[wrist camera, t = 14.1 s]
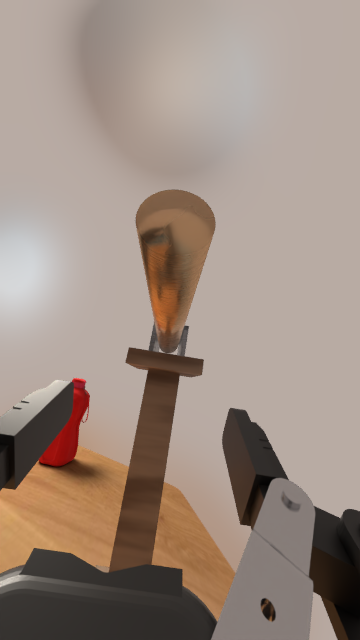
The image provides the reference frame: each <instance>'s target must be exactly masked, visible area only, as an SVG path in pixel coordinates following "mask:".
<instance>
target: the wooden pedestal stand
mask: <svg viewBox="0 0 360 640" xmlns="http://www.w3.org/2000/svg"><path fill="white" fill-rule="evenodd" d="M203 361H204V360H203V359H197V358H191V357H185V356H179V355H173V354H166V353H160V352H154V351H148V350H142V349H136V348H129V350H128V354H127V358H126V363H128V364H130V365H131V366H134V367H136V368H138V369H143V370H148V374H147V379H146V384H145V389H144V394H143V399H142V404H141V410H140V415H139V420H138V425H137V430H136V435H135V441H134V445H133V451H132V455H131V460H130V466H129V471H128V476H127V481H126V486H125V491H124V496H123V501H122V506H121V511H120V517H119V522H118V527H117V532H116V537H115V542H114V547H113V552H112V557H111V562H110V567H104V566H98V565H96V567H95V568H97V569H99V570H100V571H102V572H113V571H117V570H122V569H127V568H131V567H136V566H140V565H145V564H149V565H151V563H152V556H153V550H154V543H155V536H156V530H157V523H158V516H159V510H160V503H161V496H162V490H163V483H164V476H165V469H166V463H167V456H168V449H169V443H170V436H171V430H172V423H173V416H174V410H175V403H176V396H177V389H178V383H179V376H186V377H195V376H200V375H202V369H203Z"/></svg>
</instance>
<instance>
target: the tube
mask: <svg viewBox="0 0 360 640" xmlns="http://www.w3.org/2000/svg"><path fill="white" fill-rule="evenodd" d="M136 228H137V233H138V238H139V243H140V248H141V254H142V259H143V264H144V269H145V274H146V280H147V285H148V290H149V295H150V301H151V306H152V311H153V316H154V321H155V327H156V332H157V337H158V342H159V347H160V349H161V350H162V351H163V352H165V353H172V352H174V351H175V350H176V349H177V347H178V344H179V341H180V338H181V335H182V331H183V328H184V325H185V322H186V319H187V316H188V312H189V309H190V306H191V303H192V300H193V297H194V294H195V291H196V288H197V284H198V281H199V278H200V275H201V272H202V269H203V265H204V262H205V259H206V256H207V253H208V250H209V247H210V244H211V240H212V237H213V234H214V231H215V217H214V214H213V212H212V210H211V208H210V207H209V206H208V204H207V203H206V202H205V201H204V200H202V199H201V198H200V197H198V196H196V195H194V194H192V193H190V192H187V191H182V190H165V191H161V192H158V193H155V194H153V195H151V196H150V197H148V198H147V199H146V200H145V201H144V202H143V203H142V204H141V205H140V207H139V209H138V211H137V214H136Z"/></svg>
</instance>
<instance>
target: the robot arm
mask: <svg viewBox="0 0 360 640" xmlns="http://www.w3.org/2000/svg"><path fill="white" fill-rule="evenodd" d="M73 396H74V383H73V382H69V381H62V380H56V381H54V382H53V383H52V384H51V385H49V386H48V387H47V388H46V389H45V388H42V389H39V390H37V391H35V392H33V393H30V394H29V395H28V396H27V397H25V398H24V399H23V400H22V401H21V402H19V403H18V404H16V405H15V406H14V407H13V409H10V410H9V411H8V412H6V413H5V414H4V415H2V416H1V417H0V490H1V489H2V488H7V489H14V490H15V489H16V488H17V487H18V485H19V484H20V483H21V481H22V480H23V479H24V478H25V476H26V475H27V474H28V472H29V471H30V470H31V469H32V467H33V466H34V465H35V464H36V462H37V461H38V460H39V458H40V457H41V456H42V455H43V453H44V452H45V451H46V449H47V448H48V447H49V446H50V444H51V443H52V442H53V440H54V439H55V438H56V437H57V435H58V434H59V433H60V431H61V430H62V429H63V428H64V426H65V425H66V424H67V422H68V421H69V419H70V417H71V414H72V410H73ZM222 444H223V450H224V454H225V459H226V463H227V468H228V472H229V477H230V481H231V485H232V490H233V494H234V498H235V503H236V507H237V512H238V516H239V521H240V524H241V525H247V526H251V529H252V532H251V535H250V537H249V540H248V543H247V545H246V548H245V551H244V553H243V556H242V559H241V561H240V564H239V566H238V569H237V572H236V574H235V577H234V580H233V582H232V585H231V588H230V590H229V593H228V596H227V598H226V601H225V604H224V606H223V609H222V612H221V614H220V617H219V620H218V622H217V620H216V619H215V617H214V616H213V614H212V613H211V612H210V610H209V609H208V608H207V606H206V605H205V604H204V603H203V602H202V601H201V600H200V599H199V598H198V597H197V596H196V595H195V594H194V593H192V592H191V591H190V590H189V589H187V588H185V587H184V586H182V569H177V568H170V567H163V566H156V565H149V564H145V565H140V566H136V567H131V568H127V569H122V570H117V571H113V572H102V571H100V570H99V569H97V568H95V567H94V566H92V565H90V564H88V563H87V562H85V561H83V560H82V559H80V558H78V557H76V556H75V555H73V554H71V553H65V552H58V551H51V550H44V549H37V548H34V549H33V551H32V553H31V555H30V557H29V559H28V560H27V562H26V564H25V565H21V566H18V567H15V568H12V569H9V570H7V571H5V572H3V573H0V640H309V633H310V622H311V611H312V599H313V592H315V593H317V594H318V595H320V596H321V598H322V601H323V603H324V606H325V608H326V611H327V613H328V616H329V618H330V621H331V623H332V626H333V629H334V631H335V634H336V637H337V639H338V640H360V511H357V510H353V509H347V510H345V511H344V512H343V515H342V517H341V518H339V517H336V516H334V515H332V514H330V513H328V512H326V511H323V510H321V509H319V508H317V507H315V506H313V503H312V501H311V500H310V498H309V497H308V496H307V494H306V493H305V492H304V491H303V490H302V489H301V488H300V487H299V486H297V485H296V484H294V483H293V482H291V481H289V479H288V478H287V475H286V474H285V472H284V470H283V468H282V466H281V464H280V462H279V460H278V458H277V456H276V454H275V452H274V451H273V448H272V446H271V444H270V443H269V440H268V438H267V436H266V434H265V433H264V431H263V430H262V429H261V428H260V427H259V426H258V425H257V424H256V423H254V422H251V420H250V418H249V416H248V414H247V412H246V411H245V410H240V409H234V408H230V409H229V412H228V416H227V420H226V424H225V428H224V431H223V439H222Z"/></svg>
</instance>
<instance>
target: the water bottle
mask: <svg viewBox="0 0 360 640" xmlns="http://www.w3.org/2000/svg"><path fill="white" fill-rule="evenodd" d="M72 382H73V383H74V396H73V410H72V414H71V417H70V419H69V421H68V422H67V424H66V425H65V426H64V428H63V429H62V430H61V431H60V433H59V434H58V435H57V437H56V438H55V439H54V440H53V442H52V443H51V444H50V446H49V447H48V448H47V449H46V451H45V452H44V453H43V455H42V456H41V457H40V458H39V461H40V462H41V463H44V464H48V465H52V466H62V465H65V464H67V463H68V462H70V461H72V460H73V459H74V457H75V455H76V452H77V447H78V435H79V425H80V422H81V419H82V417H83V415H84V413H85V411H86V409H87V407H88V410H89V398H90V395H89V393H88V392H87V391H86V390H85V383H86V381H85V380H83V379H77V378H74V379H73V380H72ZM87 417H88V414H87ZM86 420H87V419H86ZM82 422H83V421H82ZM83 423H84V422H83Z"/></svg>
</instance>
